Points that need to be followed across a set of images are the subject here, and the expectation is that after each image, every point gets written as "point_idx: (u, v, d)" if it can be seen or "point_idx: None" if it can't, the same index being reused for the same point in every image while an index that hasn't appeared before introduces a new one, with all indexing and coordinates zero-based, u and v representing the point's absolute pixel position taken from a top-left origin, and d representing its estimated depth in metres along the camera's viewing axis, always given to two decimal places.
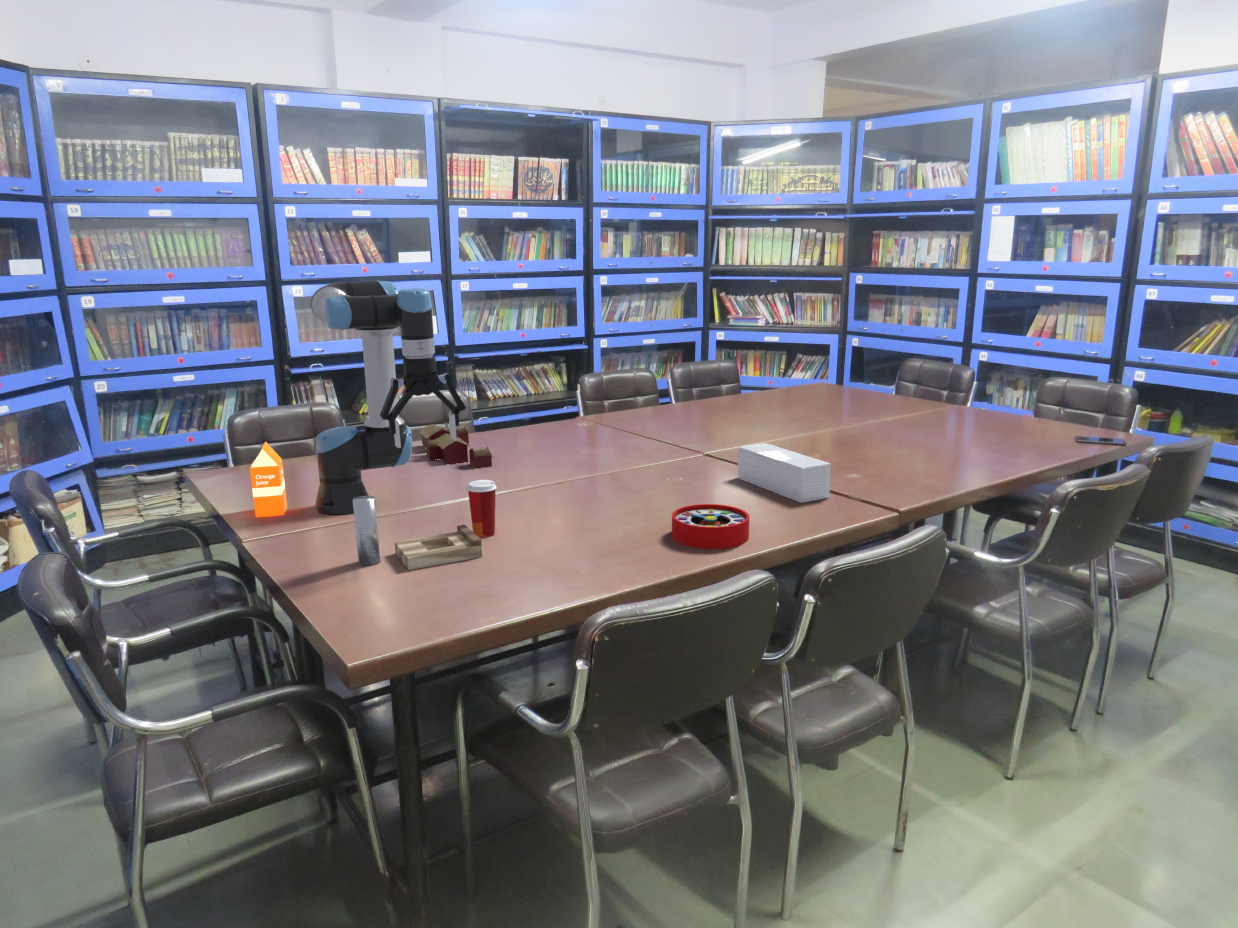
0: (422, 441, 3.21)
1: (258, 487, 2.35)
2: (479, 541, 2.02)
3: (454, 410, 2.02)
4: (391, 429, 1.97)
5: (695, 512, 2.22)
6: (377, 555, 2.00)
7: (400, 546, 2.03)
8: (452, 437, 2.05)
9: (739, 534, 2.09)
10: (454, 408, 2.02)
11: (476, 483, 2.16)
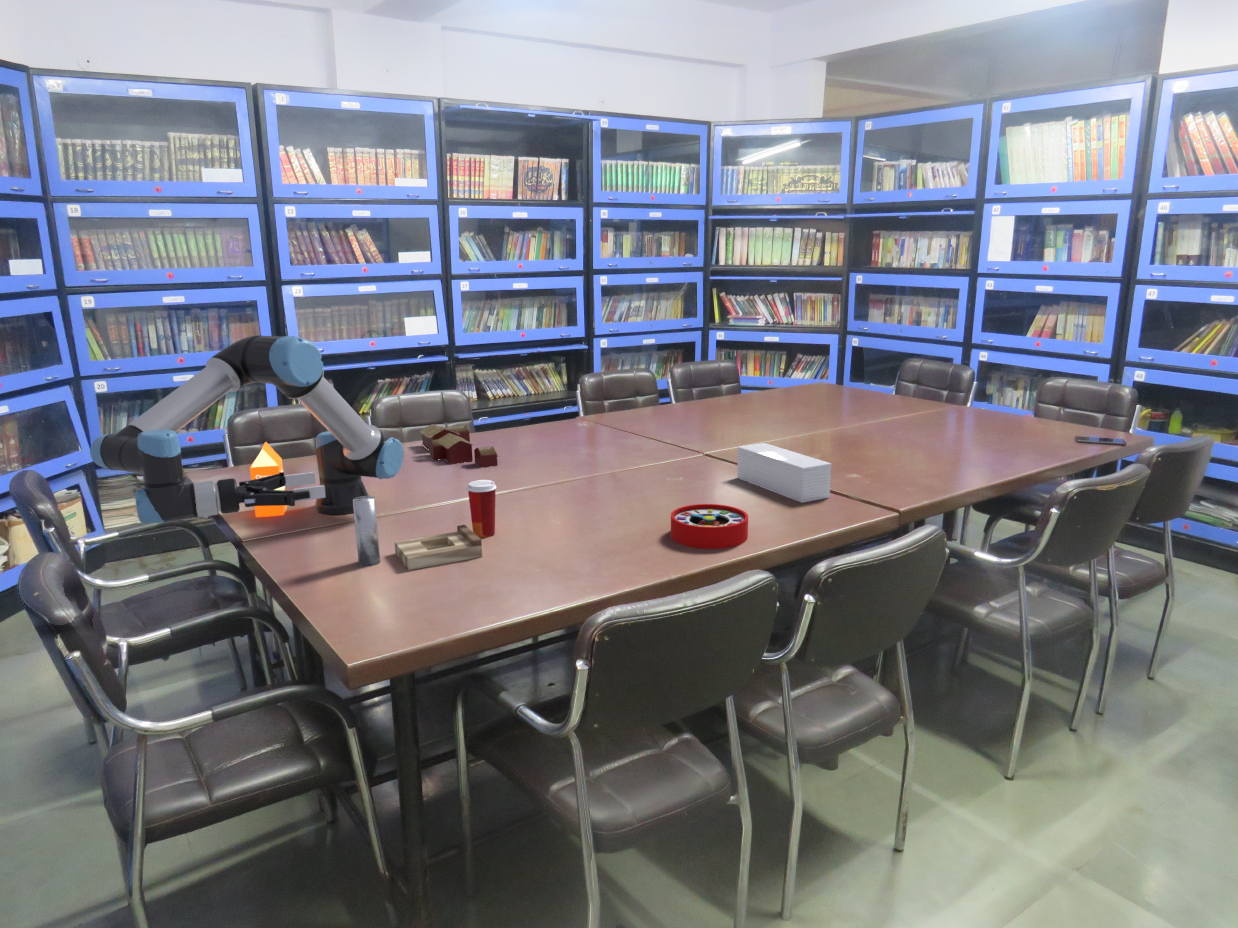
0: (423, 441, 3.20)
1: None
2: (479, 541, 2.02)
3: None
4: None
5: (694, 512, 2.22)
6: (377, 555, 2.00)
7: (400, 546, 2.03)
8: None
9: (738, 534, 2.09)
10: None
11: (476, 483, 2.16)
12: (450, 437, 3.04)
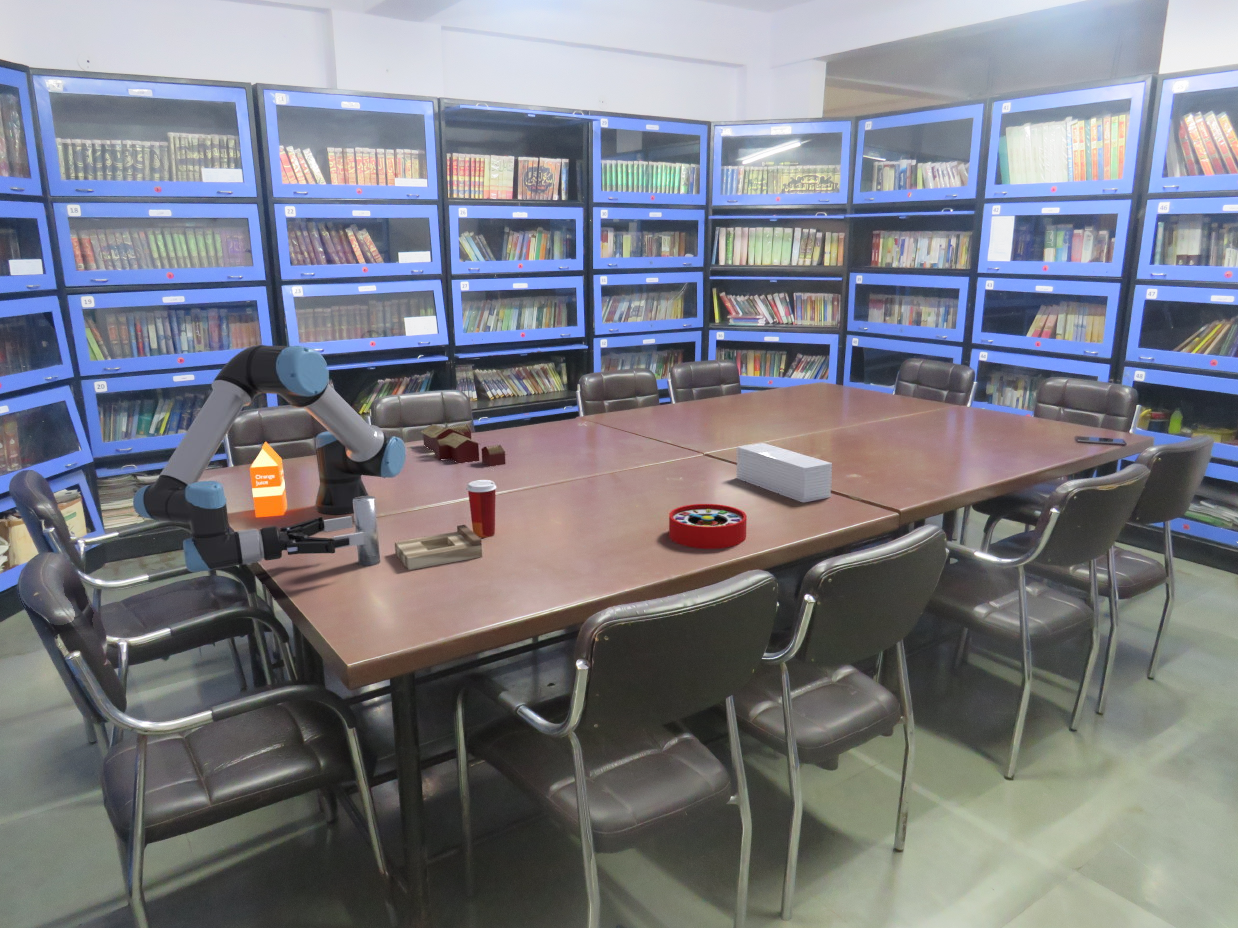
0: (424, 441, 3.20)
1: (258, 487, 2.35)
2: (479, 541, 2.02)
3: None
4: None
5: (692, 512, 2.22)
6: (377, 555, 2.00)
7: (400, 546, 2.03)
8: None
9: (737, 534, 2.09)
10: None
11: (476, 483, 2.16)
12: (455, 436, 3.05)
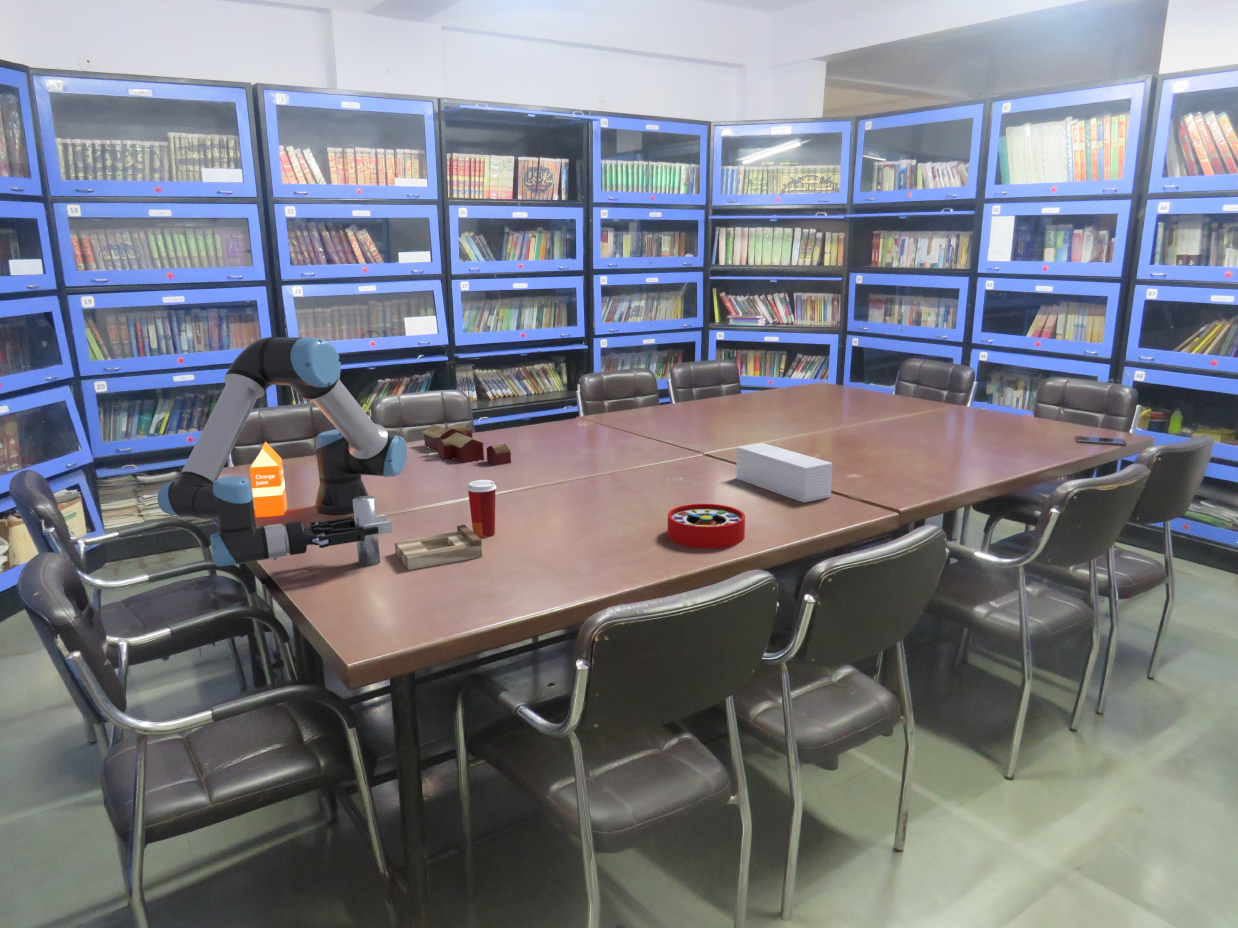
0: (425, 441, 3.20)
1: (258, 487, 2.35)
2: (479, 541, 2.02)
3: None
4: None
5: (691, 512, 2.22)
6: (377, 555, 2.00)
7: (400, 546, 2.03)
8: None
9: (735, 533, 2.09)
10: None
11: (476, 483, 2.16)
12: (458, 436, 3.05)
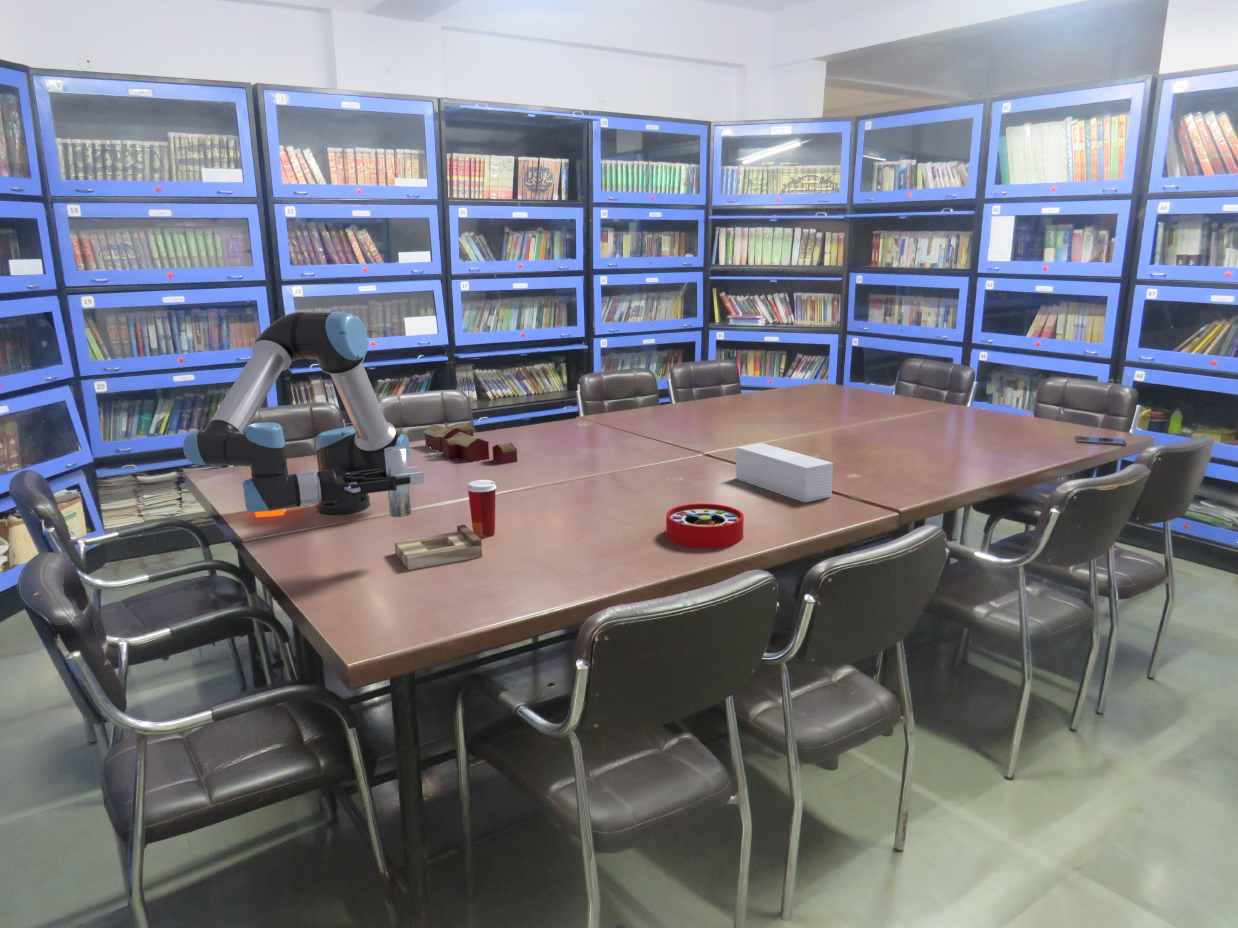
0: (426, 441, 3.20)
1: None
2: (479, 541, 2.02)
3: None
4: None
5: (690, 511, 2.23)
6: (408, 506, 1.98)
7: (400, 546, 2.03)
8: None
9: (733, 533, 2.09)
10: None
11: (476, 483, 2.16)
12: (462, 436, 3.06)
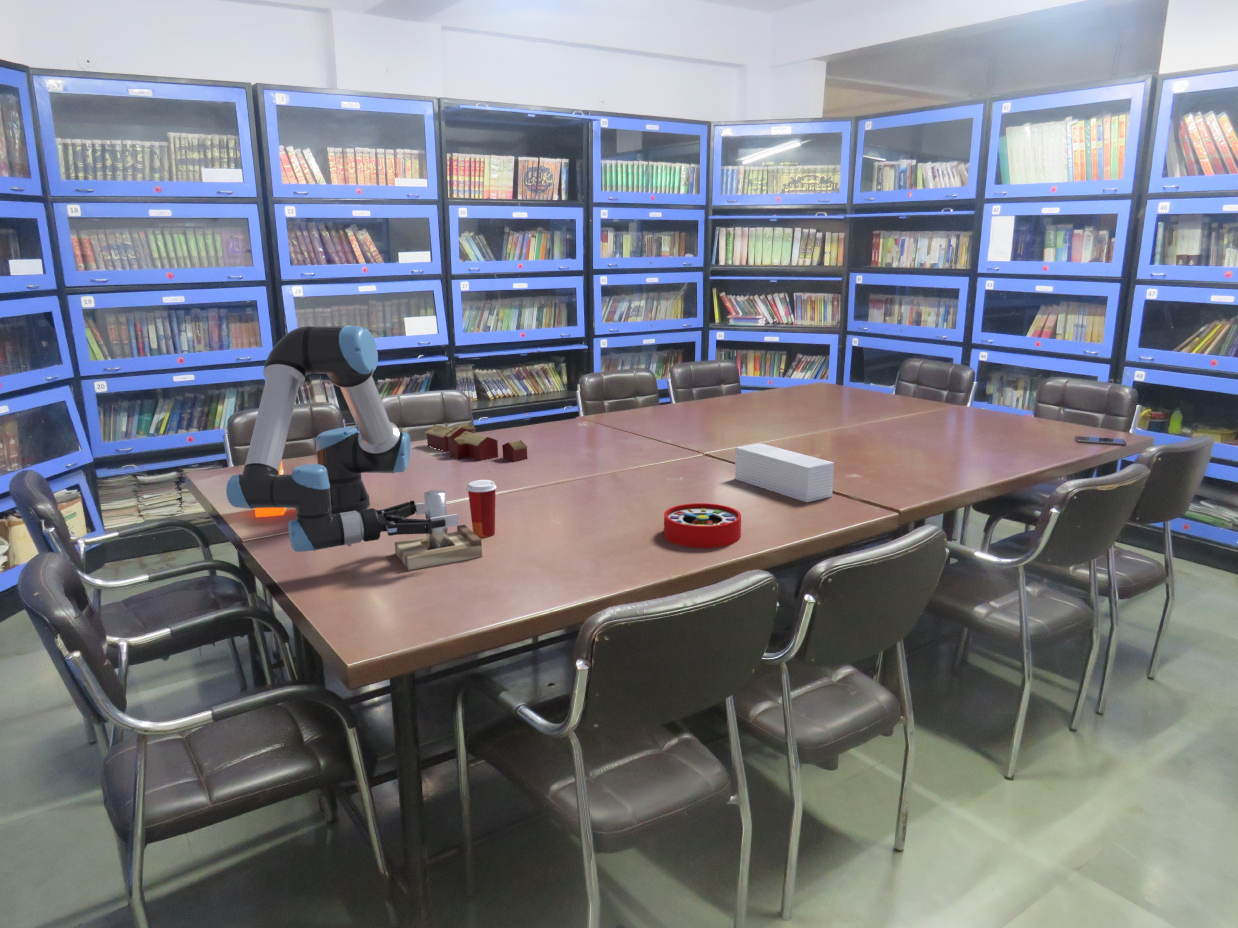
0: (428, 442, 3.20)
1: None
2: (479, 541, 2.02)
3: None
4: None
5: (687, 511, 2.23)
6: None
7: (400, 546, 2.03)
8: None
9: (731, 533, 2.10)
10: None
11: (476, 483, 2.16)
12: (468, 435, 3.07)
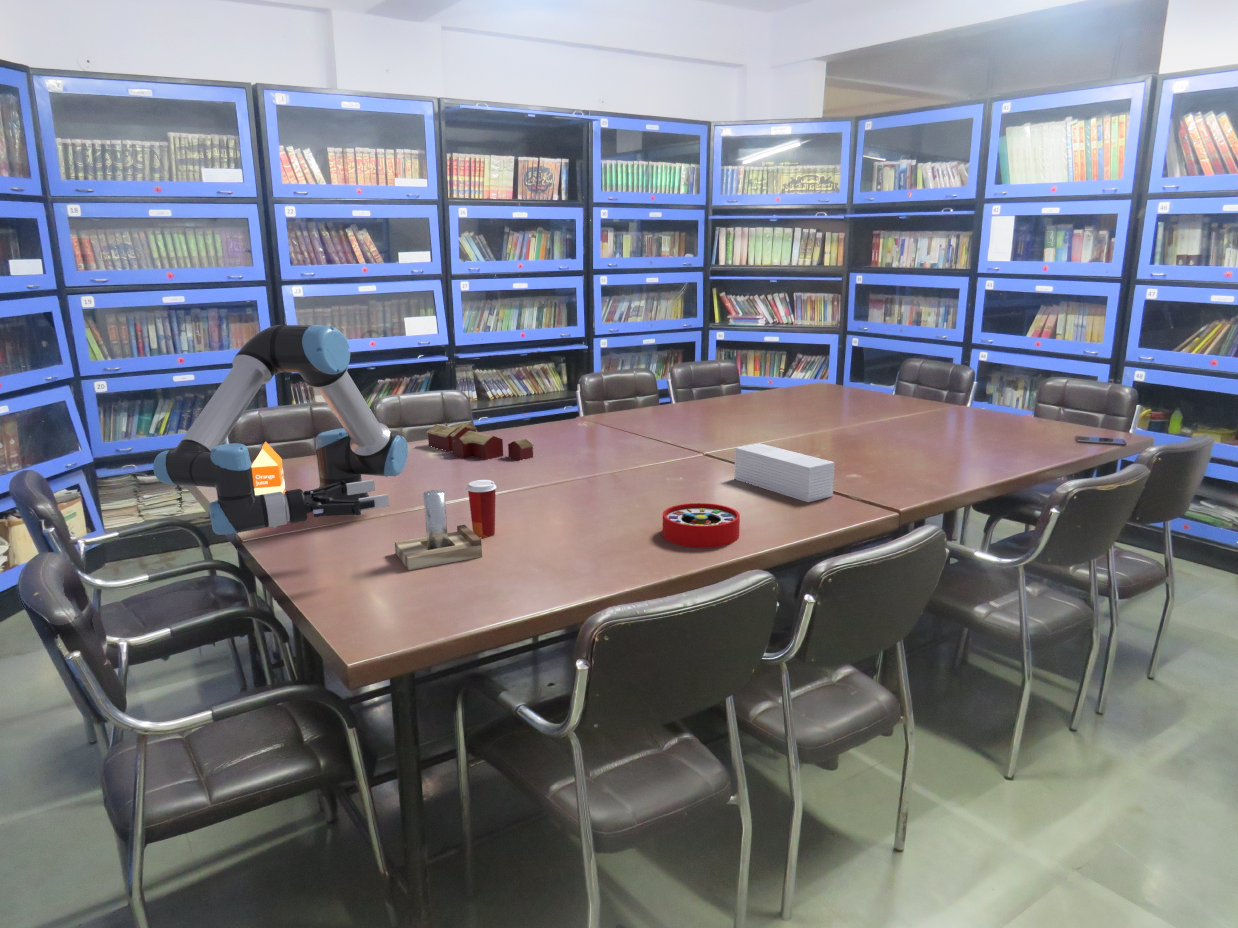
0: (430, 442, 3.19)
1: (258, 487, 2.35)
2: (479, 541, 2.02)
3: None
4: None
5: (686, 511, 2.23)
6: None
7: (400, 546, 2.03)
8: None
9: (729, 533, 2.10)
10: None
11: (476, 483, 2.16)
12: (472, 434, 3.08)
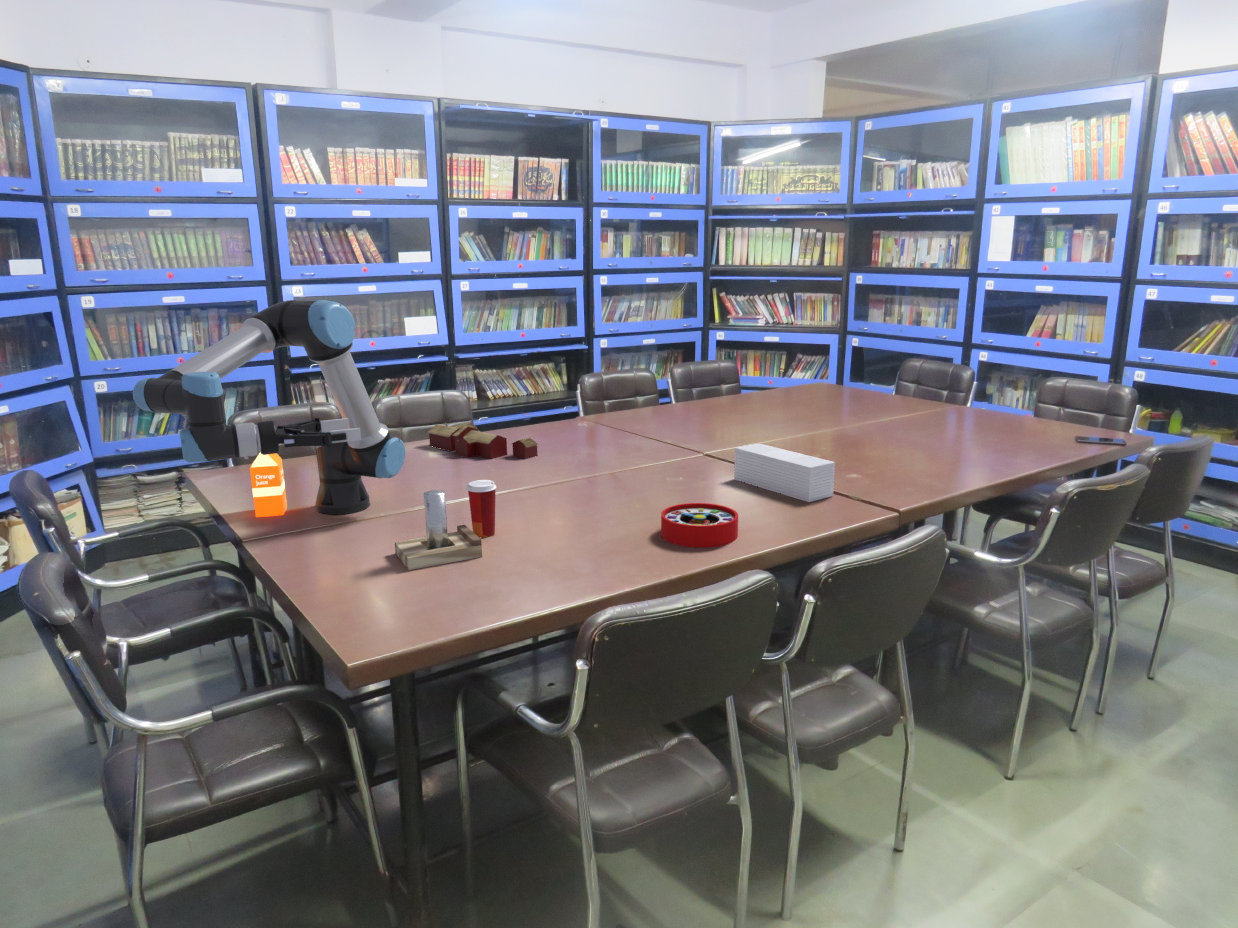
0: (431, 442, 3.19)
1: (258, 487, 2.35)
2: (479, 541, 2.02)
3: None
4: None
5: (685, 511, 2.23)
6: None
7: (400, 546, 2.03)
8: None
9: (728, 533, 2.10)
10: None
11: (476, 483, 2.16)
12: (475, 434, 3.09)
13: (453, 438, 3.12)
